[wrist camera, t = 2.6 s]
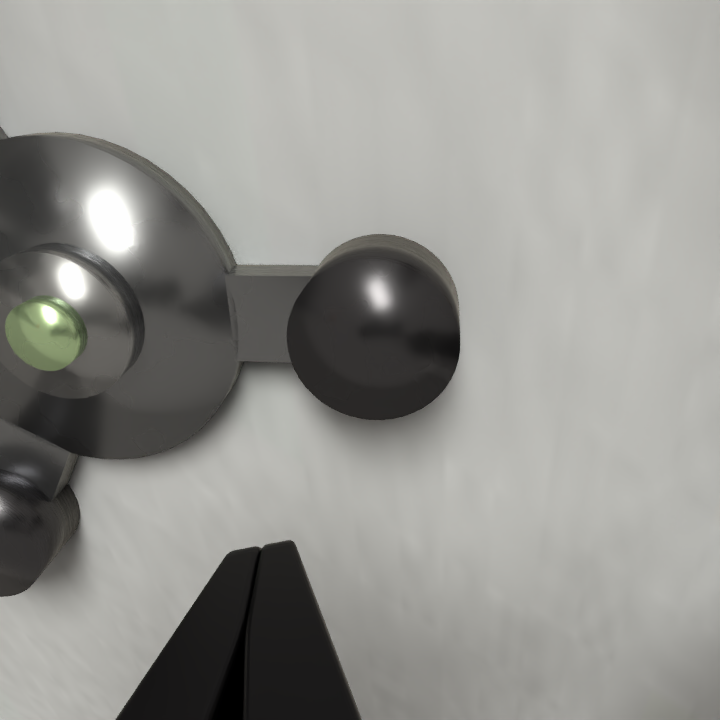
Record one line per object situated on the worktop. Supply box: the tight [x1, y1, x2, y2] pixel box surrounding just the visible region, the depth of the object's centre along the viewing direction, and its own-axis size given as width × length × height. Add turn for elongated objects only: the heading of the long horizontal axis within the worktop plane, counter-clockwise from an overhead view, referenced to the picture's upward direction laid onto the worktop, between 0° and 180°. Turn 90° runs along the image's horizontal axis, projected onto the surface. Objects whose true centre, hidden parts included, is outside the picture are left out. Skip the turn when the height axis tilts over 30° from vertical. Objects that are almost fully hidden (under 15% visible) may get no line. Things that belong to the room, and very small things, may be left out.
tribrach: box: [0, 127, 460, 597], centre depth 17 cm, size 18×20×3 cm
